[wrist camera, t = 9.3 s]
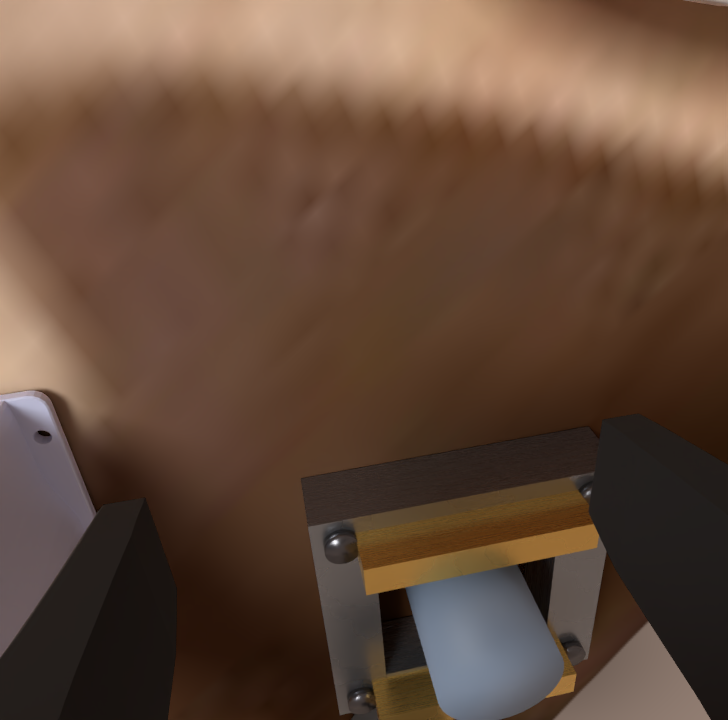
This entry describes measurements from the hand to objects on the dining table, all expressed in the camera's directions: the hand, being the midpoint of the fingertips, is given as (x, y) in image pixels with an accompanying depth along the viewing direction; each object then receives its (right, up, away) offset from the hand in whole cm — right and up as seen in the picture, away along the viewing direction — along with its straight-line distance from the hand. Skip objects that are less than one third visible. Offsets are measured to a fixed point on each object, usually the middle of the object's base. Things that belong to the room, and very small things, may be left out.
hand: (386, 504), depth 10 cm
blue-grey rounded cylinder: (+3, -5, +16) cm, 17 cm away
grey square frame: (+3, -6, +16) cm, 18 cm away
